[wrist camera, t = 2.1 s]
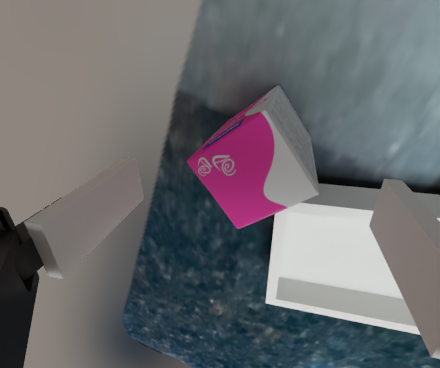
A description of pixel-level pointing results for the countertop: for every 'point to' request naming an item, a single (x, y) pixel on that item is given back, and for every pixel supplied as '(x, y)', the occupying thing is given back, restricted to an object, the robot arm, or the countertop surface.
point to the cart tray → (337, 259)
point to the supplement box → (258, 161)
